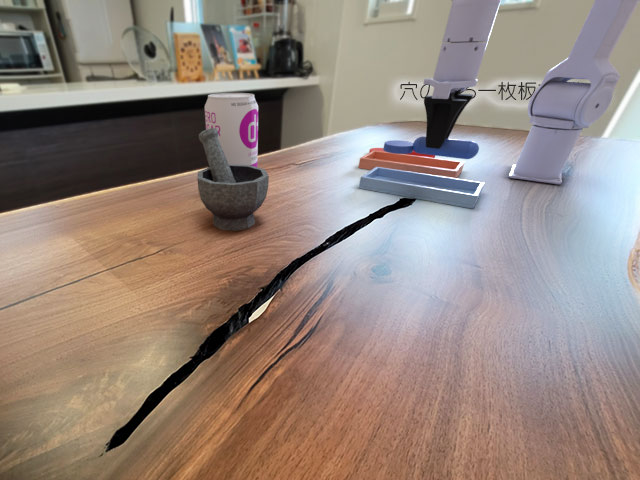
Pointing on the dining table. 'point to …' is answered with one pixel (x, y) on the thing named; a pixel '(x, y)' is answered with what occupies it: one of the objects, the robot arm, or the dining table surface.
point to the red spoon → (406, 154)
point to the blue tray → (423, 186)
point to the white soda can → (235, 125)
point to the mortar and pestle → (230, 187)
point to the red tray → (412, 164)
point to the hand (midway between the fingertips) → (435, 145)
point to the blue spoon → (447, 149)
